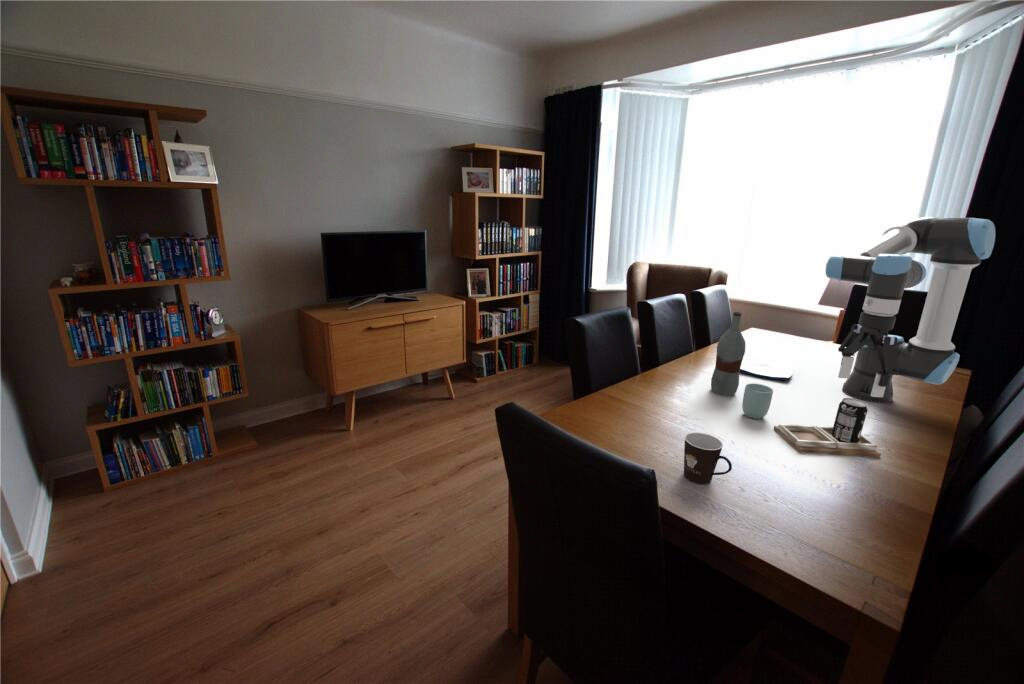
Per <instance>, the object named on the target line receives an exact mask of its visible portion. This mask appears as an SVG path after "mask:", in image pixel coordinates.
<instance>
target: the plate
mask: <svg viewBox="0 0 1024 684" xmlns="http://www.w3.org/2000/svg"><path fill="white" fill-rule="evenodd" d="M739 372H742V373H745V374H748V375H749V376H750V375H751V376H754V377H758V378H763V379H769V380H779V381H780V380H783V381H785V380H788V379H790V378H791V377H792V376H793V369H792V365H790V364H781V363H774V362H767V361H763V360H757V359H754V358H750V357H745V356H744V357H743V360H742V364H741V367H740V371H739Z"/></svg>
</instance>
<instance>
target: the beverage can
mask: <svg viewBox="0 0 1024 684" xmlns="http://www.w3.org/2000/svg"><path fill="white" fill-rule="evenodd" d="M867 407H868V403H866V402H865V401H864V400H861V399H860V400H859V399H858V398H852V397H844V398H842V399H841V401H840V402H839V404H838V407H837V412H836V414H835V418H834V422H833V426H832V427H833V430H832V436H833V437H834V438H835V439H836V440H838V441H839V442H847V443H858V442H859V439H860V436H861V434H862V433H863V432H862V431H863V428H864V424H865V421H866V417H867V415H868V408H867Z"/></svg>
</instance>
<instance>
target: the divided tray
mask: <svg viewBox="0 0 1024 684" xmlns="http://www.w3.org/2000/svg"><path fill="white" fill-rule="evenodd" d="M773 426H774V427H773V430H774V431H775V433H777V434H778V435H779V436H780V437H782V439H784V440H785V441H786V442H787V443H788V445H790V446H791V447H792V448H793V449H794V450H795V451H797V453H799V454H815V455H817V454H818V455H834V456H847V457H848V456H850V457H852V456H853V457H865V456H867V457H869V458H881V456H882V453H881V452H879V450H877V447H878V444H876V443H875V442H873V441H872V440H870V439H868V438H867V437H866V436H864V435H863V434H862V433H861V436H860V439H859V442H858V443H847V442H839V441H838V440H836V439H835V438H834V437H833V436H832V430H833V426H825V425H816V426H815V425H806V424H790V423H789V424H788V423H778V425H773Z"/></svg>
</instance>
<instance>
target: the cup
mask: <svg viewBox="0 0 1024 684" xmlns="http://www.w3.org/2000/svg"><path fill="white" fill-rule="evenodd" d="M773 393H774V390H773V388H772V387H769V386H767V385H764V384H761V383H756V382H755V383H754V382H753V383H747V384H746V385H745V387H744V391H743V396H742V404H741V405H742V407H741V408H742V413H743V414H744V415H745V416H746V417H749V418H751V419H755V420H758V419H759V420H760V419H763V418H765V417H766V416H767V415H768V412H769V410H770V407H771V403H772V399H773Z"/></svg>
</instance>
